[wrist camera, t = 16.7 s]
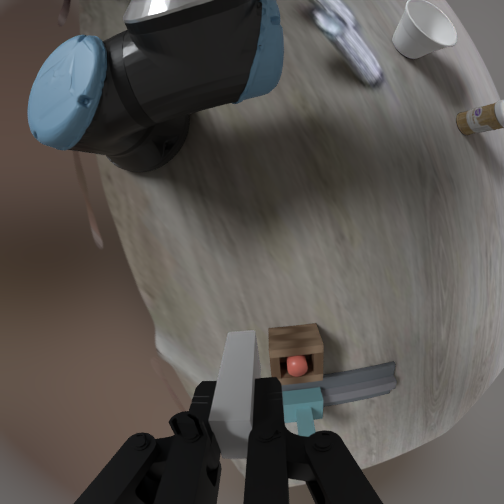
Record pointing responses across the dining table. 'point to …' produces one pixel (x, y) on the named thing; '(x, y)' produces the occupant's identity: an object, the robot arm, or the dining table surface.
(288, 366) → the cylinder
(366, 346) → the dining table surface
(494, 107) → the sprinkles bottle
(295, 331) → the open wooden box
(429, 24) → the cup
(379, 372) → the rail bed
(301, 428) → the carriage
